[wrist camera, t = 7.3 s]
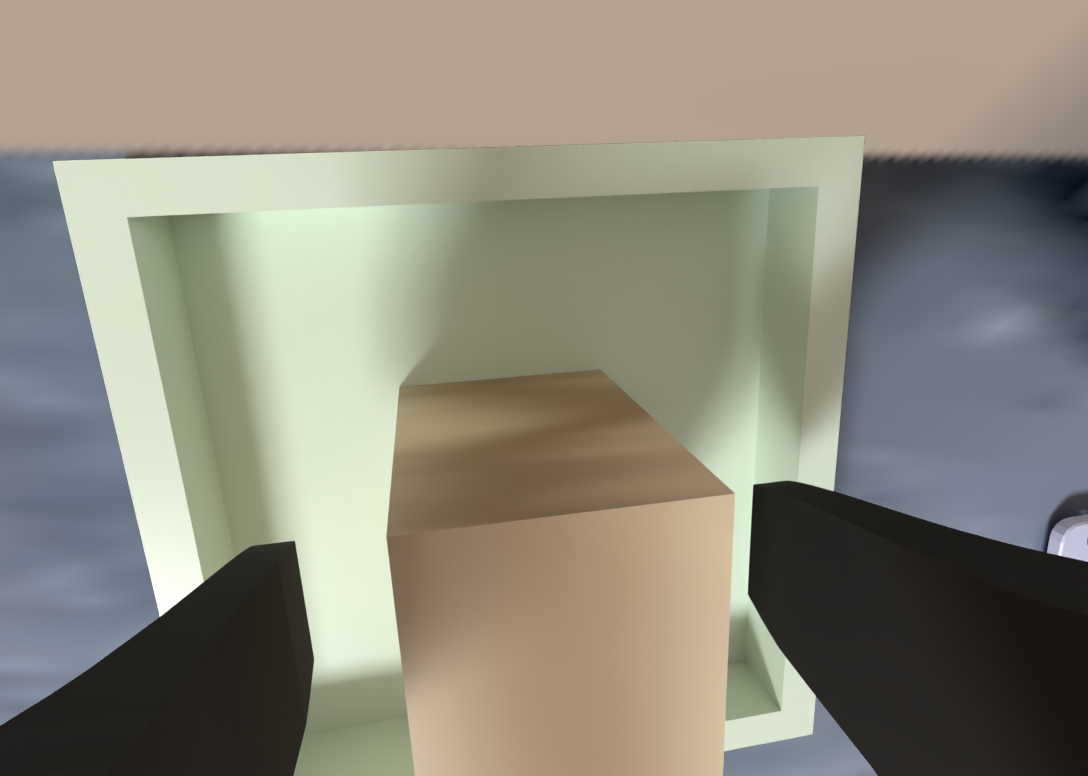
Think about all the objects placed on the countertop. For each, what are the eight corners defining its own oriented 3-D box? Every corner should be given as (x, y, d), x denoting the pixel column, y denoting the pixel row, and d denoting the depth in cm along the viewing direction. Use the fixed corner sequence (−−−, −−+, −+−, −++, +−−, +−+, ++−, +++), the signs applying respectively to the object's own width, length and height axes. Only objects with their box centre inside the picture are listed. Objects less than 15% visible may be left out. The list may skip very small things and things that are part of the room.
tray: (795, 145, 13) (864, 134, 11) (763, 668, 17) (812, 734, 15) (118, 167, 11) (52, 161, 9) (242, 758, 15) (214, 848, 13)
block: (600, 369, 13) (734, 493, 8) (604, 585, 15) (720, 824, 9) (399, 386, 13) (386, 536, 7) (422, 611, 14) (427, 886, 9)
